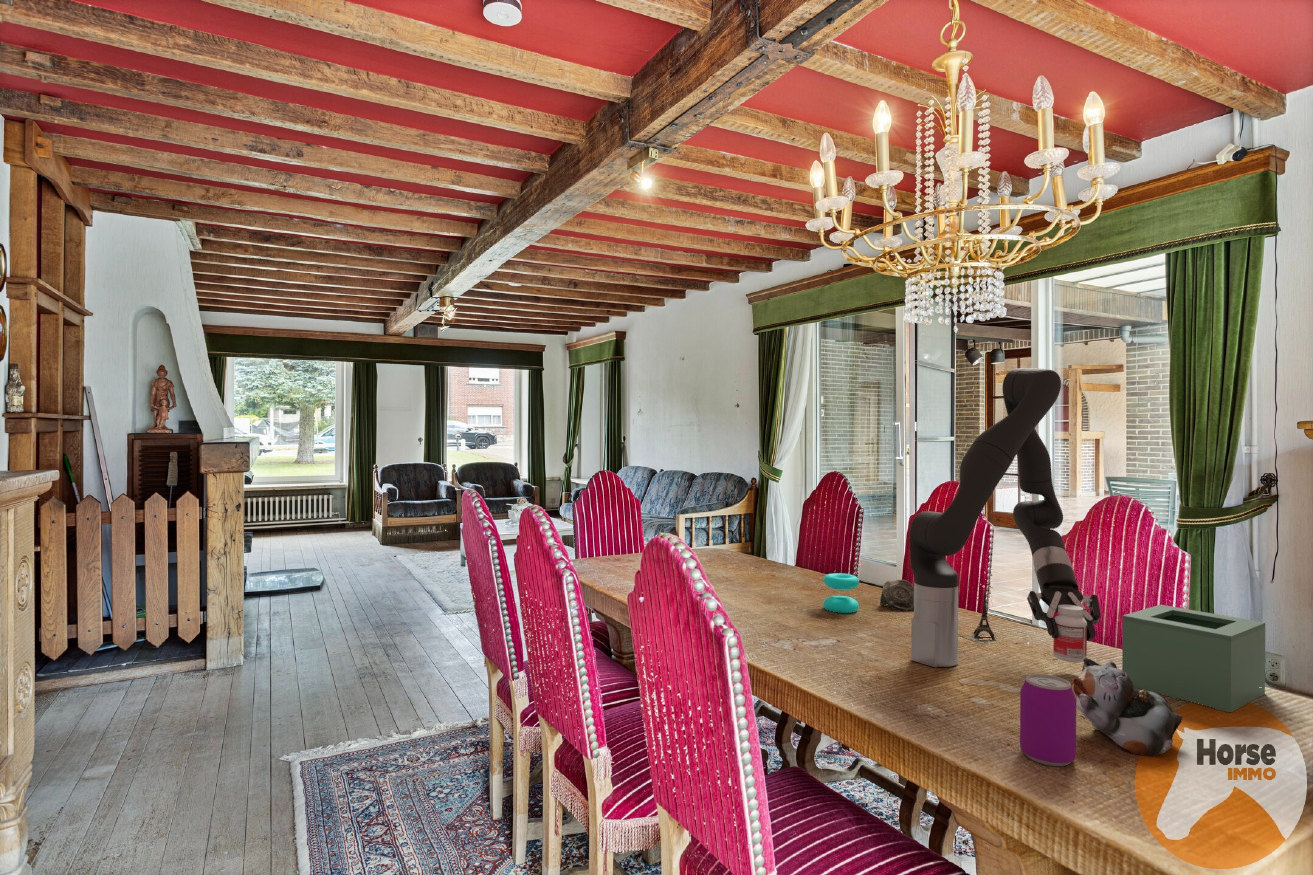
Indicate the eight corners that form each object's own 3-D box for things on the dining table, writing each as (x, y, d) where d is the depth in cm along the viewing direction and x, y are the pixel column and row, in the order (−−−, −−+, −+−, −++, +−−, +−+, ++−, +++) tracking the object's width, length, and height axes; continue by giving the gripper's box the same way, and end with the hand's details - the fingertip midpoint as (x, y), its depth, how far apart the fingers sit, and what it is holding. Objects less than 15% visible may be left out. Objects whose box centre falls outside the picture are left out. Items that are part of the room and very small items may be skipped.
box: (1230, 712, 130) (1231, 636, 130) (1122, 684, 145) (1122, 615, 145) (1264, 693, 140) (1265, 622, 140) (1160, 668, 155) (1160, 604, 155)
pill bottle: (1065, 652, 156) (1066, 602, 156) (1092, 661, 150) (1094, 608, 150) (1046, 656, 153) (1047, 604, 153) (1074, 664, 148) (1075, 611, 148)
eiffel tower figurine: (944, 633, 184) (944, 581, 184) (973, 629, 188) (974, 579, 188) (991, 649, 170) (991, 593, 170) (1022, 645, 174) (1022, 590, 174)
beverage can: (1087, 767, 108) (1088, 688, 108) (1038, 769, 107) (1039, 689, 107) (1055, 745, 115) (1055, 671, 115) (1009, 747, 115) (1010, 672, 115)
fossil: (899, 611, 202) (886, 577, 207) (878, 620, 210) (867, 587, 214) (927, 606, 207) (914, 573, 211) (906, 615, 215) (894, 583, 219)
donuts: (846, 580, 199) (816, 575, 207) (846, 616, 199) (816, 609, 207) (865, 576, 206) (836, 571, 213) (865, 610, 206) (835, 604, 213)
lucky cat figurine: (1160, 765, 109) (1109, 679, 111) (1087, 766, 118) (1042, 687, 121) (1197, 716, 117) (1148, 638, 119) (1126, 721, 127) (1082, 648, 129)
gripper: (1024, 560, 160) (1041, 626, 149) (1094, 563, 158) (1117, 631, 146) (1016, 579, 166) (1032, 644, 154) (1083, 582, 163) (1105, 649, 151)
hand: (1073, 637), depth 150 cm, fingers closed on pill bottle, 6 cm apart
